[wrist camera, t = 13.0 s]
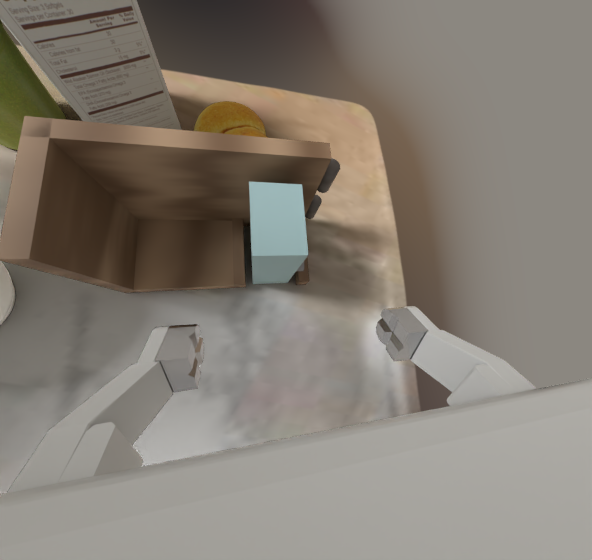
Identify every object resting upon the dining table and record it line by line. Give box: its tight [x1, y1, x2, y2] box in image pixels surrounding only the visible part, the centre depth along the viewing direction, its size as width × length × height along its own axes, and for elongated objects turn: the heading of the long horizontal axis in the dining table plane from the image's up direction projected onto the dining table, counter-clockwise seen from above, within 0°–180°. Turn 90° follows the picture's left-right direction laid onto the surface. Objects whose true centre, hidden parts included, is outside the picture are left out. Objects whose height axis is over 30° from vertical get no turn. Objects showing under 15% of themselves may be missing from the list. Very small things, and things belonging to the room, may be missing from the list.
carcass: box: [0, 116, 340, 293], centre depth 17 cm, size 18×8×10 cm, turn 95°
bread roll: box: [194, 101, 268, 138], centre depth 22 cm, size 8×9×4 cm
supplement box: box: [0, 0, 182, 130], centre depth 16 cm, size 7×7×13 cm
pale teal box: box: [249, 182, 308, 284], centre depth 18 cm, size 5×5×9 cm
